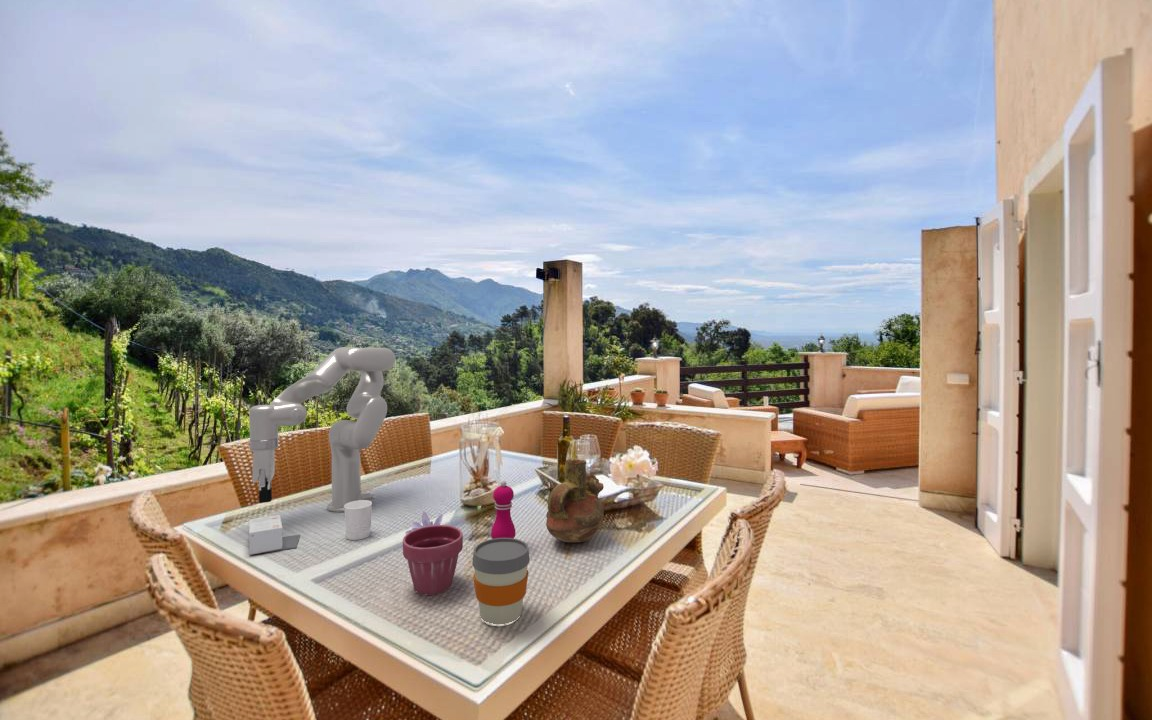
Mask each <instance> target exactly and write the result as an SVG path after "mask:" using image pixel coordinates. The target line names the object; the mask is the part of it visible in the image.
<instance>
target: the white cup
mask: <svg viewBox="0 0 1152 720" xmlns="http://www.w3.org/2000/svg"><path fill="white" fill-rule="evenodd" d="M372 510H373V502H372V501H371V500H359V501H353V502H349V503H347V504H345V505H344V524H345V528H344V529H345V537H346V539H348V540H349V541H358V540H362V539H366V538H369V536H370V535H371V526H372V516H373V515H372V513H373V512H372Z"/></svg>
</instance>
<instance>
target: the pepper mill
mask: <svg viewBox="0 0 1152 720" xmlns="http://www.w3.org/2000/svg"><path fill="white" fill-rule="evenodd" d="M514 496H515V493H514V490H513V488H512V487H511V486H509V485H507V481H506V480H502V481H500V485H499V486H497V487H496V488H495V489H494V490H493V494H492V498H493V501H495V502H494V509H496V510H495V511H496V512H495V513H496V515H495V520H494V522H493V525H492V527H491V530H490V537H491V539H495V538H514V539H515V538H516V537H515V536H516V535H517V533H516V532H517V531H516V528H515V525H514V522H513V520H512V517H511V516H512V515H511V509H512V507H513V499H514Z"/></svg>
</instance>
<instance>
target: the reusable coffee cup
mask: <svg viewBox="0 0 1152 720" xmlns="http://www.w3.org/2000/svg"><path fill="white" fill-rule="evenodd" d="M529 549H530V548H529V545H528V544H527V543H526V542H525V541H523V540H521V539H517V538H515V537H514V538H495V539H492V538H491V539H486V540H484V541H481V542H480V543H477V544H476V546H475V547H474V548H473V552H472V553H473V554H472V566H473V567H472V568H474V574H473V584H474V592H475V598H476V599H477V600H478V608H479V616H481V617H480V619H481V618H482V619H483V620H484V621H486V622H489V623H493V624H505V623H509V622H512V621H514V620H516V619H517V618H518V617H519V616H520V615H521V616H522V610H523V605H524V604H523V603H524V602H523V601H524V598H525V596H526V594H527V588H528V587H527V586H528V577H529V570H528V566H529V563H530V561H531V559H530V550H529Z"/></svg>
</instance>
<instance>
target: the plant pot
mask: <svg viewBox="0 0 1152 720" xmlns="http://www.w3.org/2000/svg"><path fill="white" fill-rule="evenodd" d="M463 540H464V536H463V531H462V529H460V528H458V527H456V526H453V525H449V524H448V525H446V524H440V525H434V524H433V526H426V527H422V528H419V529H416V530H413V531H411V532H409V533H408V534H405V535H404V537H403V538H402V555H403V557H404V559H405V560H407V564H408V569H409V573H410V577H411V582H412V586H413V588H414V591H415V592H416V591H417V592H418V593H417V592H416V593H417V594H419V593H420V594H419V595H422V594H427V595H426V596H434V595H433V594H435V595H439V594H442V593H444V592H446V591H448V590H449V589H450V588H451V587H452V585H453V583H454V582H453V580H454V577H455V572H456V569H457V565H458V557H459V553H461V552H462V550H463V547H464V541H463ZM447 589H448V590H447ZM445 590H446V591H445ZM441 592H442V593H441ZM438 593H439V594H438Z"/></svg>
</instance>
